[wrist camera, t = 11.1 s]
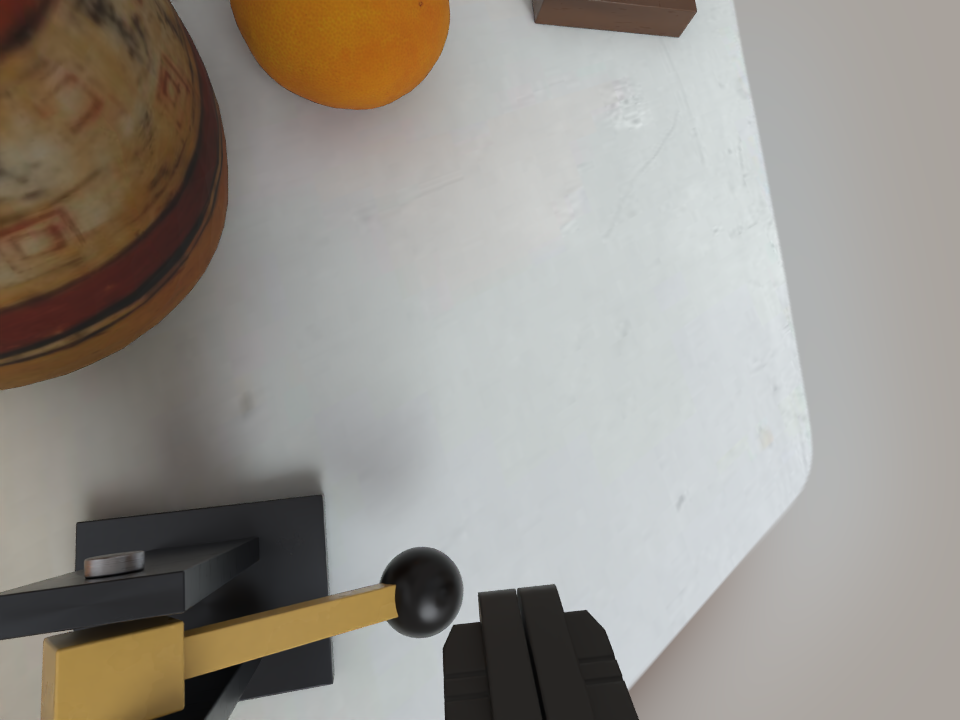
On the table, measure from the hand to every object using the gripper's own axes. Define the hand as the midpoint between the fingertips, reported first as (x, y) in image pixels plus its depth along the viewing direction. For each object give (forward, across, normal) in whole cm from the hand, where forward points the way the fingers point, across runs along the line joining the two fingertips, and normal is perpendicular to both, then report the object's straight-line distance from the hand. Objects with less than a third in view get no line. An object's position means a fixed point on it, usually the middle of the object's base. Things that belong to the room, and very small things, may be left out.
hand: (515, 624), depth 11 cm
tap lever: (+7, +7, +6) cm, 12 cm away
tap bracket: (+13, +12, +9) cm, 20 cm away
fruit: (+29, +5, -14) cm, 32 cm away
